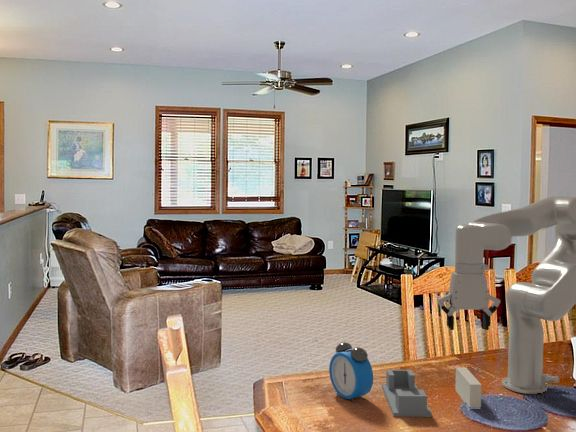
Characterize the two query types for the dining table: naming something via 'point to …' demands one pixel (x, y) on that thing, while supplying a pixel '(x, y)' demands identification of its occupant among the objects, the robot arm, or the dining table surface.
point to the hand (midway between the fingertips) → (468, 328)
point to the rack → (405, 395)
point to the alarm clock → (350, 371)
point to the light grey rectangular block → (468, 387)
